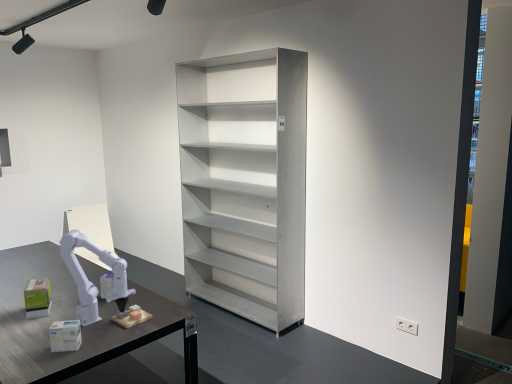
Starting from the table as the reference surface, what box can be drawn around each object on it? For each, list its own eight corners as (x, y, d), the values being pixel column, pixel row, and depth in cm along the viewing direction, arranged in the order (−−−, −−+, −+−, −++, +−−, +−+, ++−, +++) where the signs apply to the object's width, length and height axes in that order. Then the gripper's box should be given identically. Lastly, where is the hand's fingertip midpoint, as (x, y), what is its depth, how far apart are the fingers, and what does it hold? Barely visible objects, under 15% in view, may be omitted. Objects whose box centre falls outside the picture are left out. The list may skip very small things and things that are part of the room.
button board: (126, 328, 193) (126, 325, 193) (111, 319, 201) (111, 316, 201) (152, 318, 204) (152, 315, 203) (136, 310, 212) (136, 307, 212)
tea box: (30, 306, 215) (28, 279, 213) (52, 304, 219) (50, 276, 216) (25, 319, 201) (23, 290, 199) (49, 316, 205) (46, 287, 202)
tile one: (134, 320, 198) (134, 315, 197) (129, 317, 200) (129, 312, 200) (141, 317, 201) (141, 312, 200) (136, 315, 203) (136, 310, 203)
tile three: (120, 319, 199) (120, 314, 198) (116, 316, 201) (115, 311, 201) (128, 316, 202) (127, 311, 201) (123, 313, 204) (123, 308, 204)
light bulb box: (82, 342, 180) (80, 319, 179) (78, 351, 174) (76, 326, 172) (55, 344, 179) (53, 320, 177) (50, 353, 172) (48, 328, 170)
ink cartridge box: (122, 295, 230) (121, 270, 227) (118, 299, 224) (116, 273, 222) (105, 294, 231) (104, 269, 229) (100, 298, 226) (99, 272, 223)
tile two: (133, 314, 204) (133, 309, 204) (128, 311, 207) (128, 306, 206) (140, 311, 207) (140, 306, 207) (136, 309, 210) (135, 304, 209)
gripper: (111, 291, 191) (112, 319, 193) (138, 282, 202) (139, 309, 204) (103, 287, 196) (104, 315, 198) (130, 279, 206) (131, 305, 209)
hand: (122, 311), depth 201 cm, fingers closed, pressing on tile three
